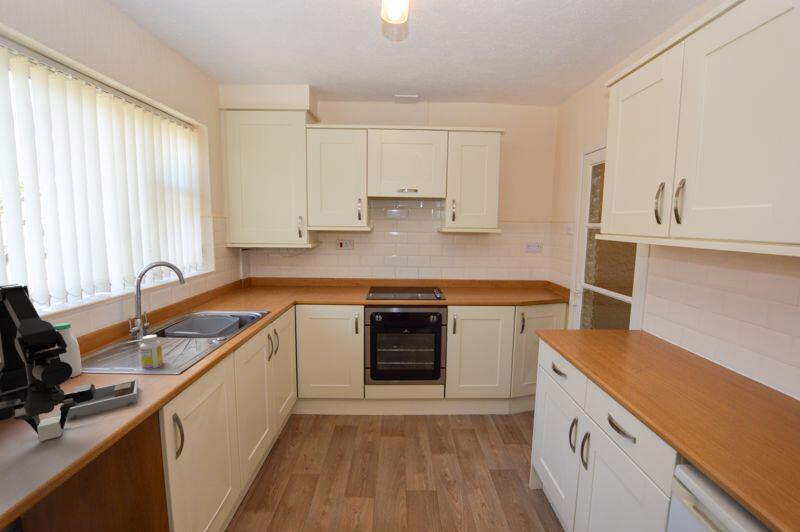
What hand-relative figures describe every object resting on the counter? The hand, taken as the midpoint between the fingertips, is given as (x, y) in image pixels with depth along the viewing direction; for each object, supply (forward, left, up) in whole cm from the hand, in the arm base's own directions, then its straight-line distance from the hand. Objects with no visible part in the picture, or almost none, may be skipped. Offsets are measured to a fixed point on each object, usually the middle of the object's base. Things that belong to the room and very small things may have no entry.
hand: (51, 431), depth 92 cm
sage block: (0, 0, -1) cm, 1 cm away
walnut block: (+15, +13, -1) cm, 19 cm away
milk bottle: (-4, +49, -2) cm, 49 cm away
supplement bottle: (+22, +39, -2) cm, 45 cm away
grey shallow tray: (+10, +13, -2) cm, 16 cm away
